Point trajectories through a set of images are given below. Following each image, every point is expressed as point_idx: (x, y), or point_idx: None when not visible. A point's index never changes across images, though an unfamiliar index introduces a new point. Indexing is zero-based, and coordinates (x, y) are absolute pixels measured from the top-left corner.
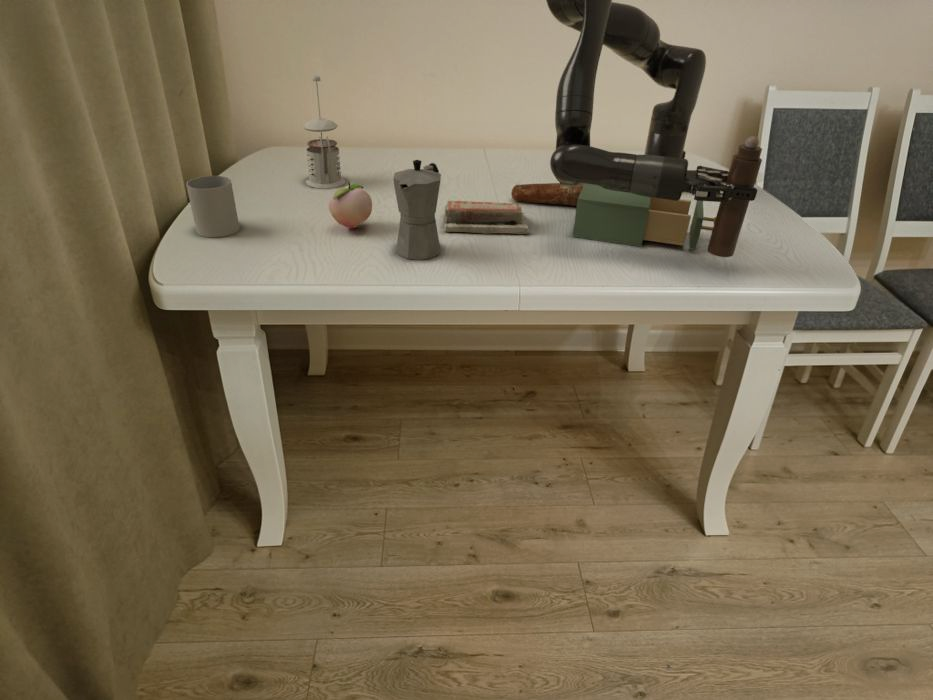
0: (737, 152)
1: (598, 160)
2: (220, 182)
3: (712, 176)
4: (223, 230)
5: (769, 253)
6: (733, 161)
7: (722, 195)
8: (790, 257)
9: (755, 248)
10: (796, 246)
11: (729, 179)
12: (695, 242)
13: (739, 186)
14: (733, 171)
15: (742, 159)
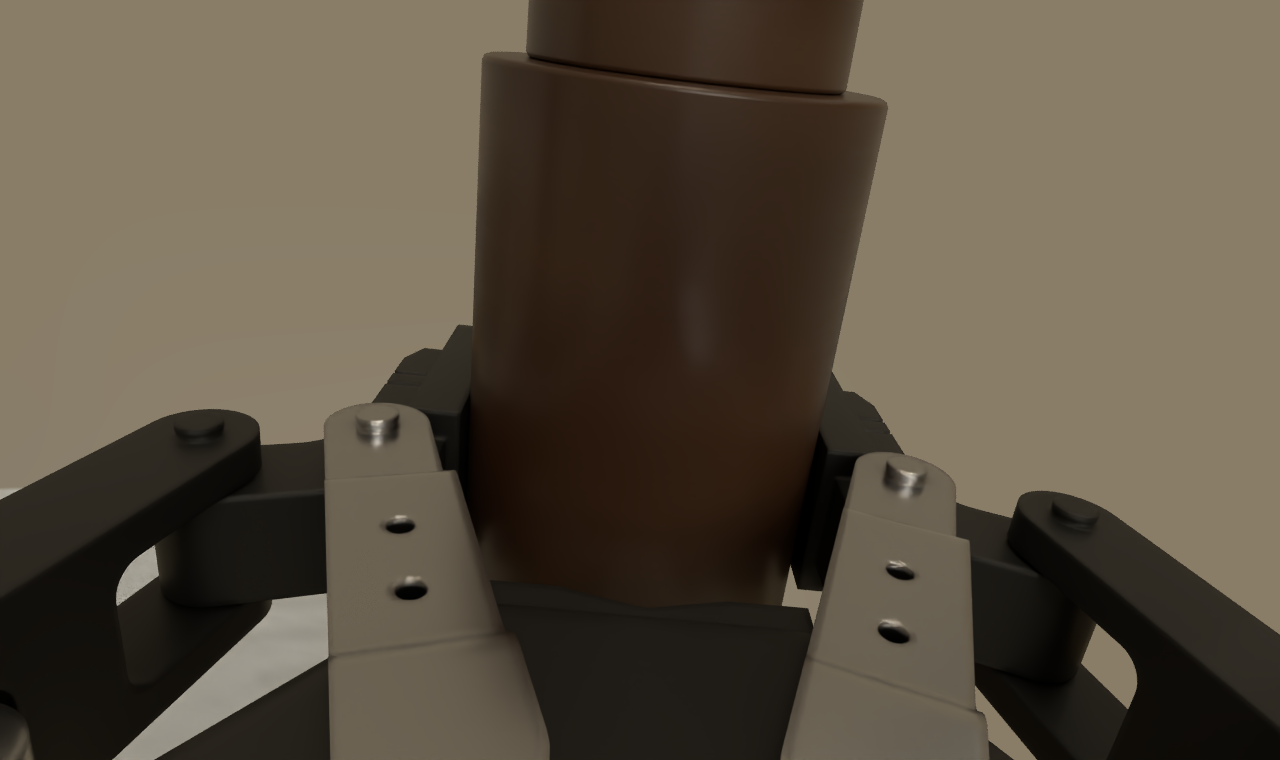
0: (715, 6)
1: None
2: None
3: (518, 617)
4: None
5: (214, 697)
6: (778, 169)
7: (1069, 651)
8: (277, 620)
9: (118, 756)
10: (126, 572)
11: (758, 445)
12: None
13: (859, 432)
14: (810, 312)
15: (830, 95)
